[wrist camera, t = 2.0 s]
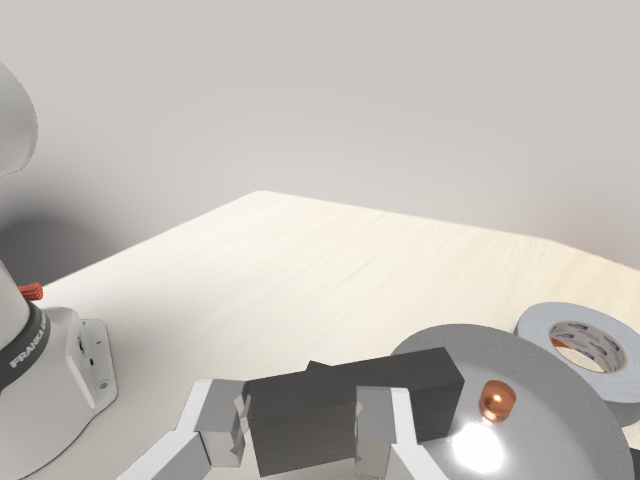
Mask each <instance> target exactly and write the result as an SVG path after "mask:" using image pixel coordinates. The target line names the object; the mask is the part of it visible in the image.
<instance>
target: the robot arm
mask: <svg viewBox="0 0 640 480" xmlns="http://www.w3.org/2000/svg"><path fill="white" fill-rule="evenodd" d="M37 138H38V124H37V117H36V113H35V110H34V107H33V104H32V102H31V100H30V98H29V96H28V94H27V92H26V91H25V89H24V88H23V86H22V85H21V83H20V82H19V81H18V80H17V78H16V77H15V76H14V75H13V73H12V72H11V71H10V70H8V68H7V67H5V65H3V64H2V63H1V62H0V177H3V176H6V175H9V174H12V173H14V172H17V171H20V170H22V169H23V168H25V166H26V165H27V163H28V162H29V161H30V159H31V157H32V155H33V153H34V150H35V147H36V143H37ZM42 297H43V289H42V287H41V285H40V284H39V283H32V284H30V285H27V286H19V287H18V288H17V286H16V284H15V283H14V281H13V279H12V278H11V276H10V274H9V273H8V271H7V269H6V268H5V266H4V265H3V263H2V261H1V259H0V480H18V479H21V478H23V477H25V476H27V475H29V474H31V473H33V472H34V471H36V470H38V469H39V468H41V467H42V466H44V465H46V464H47V463H48V462H50V461H51V460H52V459H54V458H55V457H56V456H58V455H59V454H60V453H61V452H62V451H63V450H65V449H66V448H67V447H68V446H69V445H70V444H71V443H72V442H73V441H74V440H75V439H76V438H77V436H78V435H79V434H80V433H81V431H82V430H83V429H84V428H85V426H86V425H87V424H88V423H89V421H90V420H91V419H92V418H93V417H94V416H95V415H97V414H98V413H99V412H101V411H102V410H103V409H104V408H106V407H107V406H108V405H109V404H110V403H112V402H113V401H114V399H115V398H116V397H117V394H118V391H117V385H116V380H115V374H114V368H113V363H112V357H111V352H110V346H109V341H108V335H107V330H106V326H105V324H104V323H103V321H101V320H96V319H80V317H79V316H78V314H77V313H76V311H74V310H73V309H70V308H66V307H49V308H41V309H39V308H38V307H37V306H36V305H34V304H33V303H32V302H30V301H35V300H41V299H42ZM104 387H105V388H104ZM103 388H104V389H103ZM248 392H249V383H248V381H240V380H224V379H210V378H198V379H197V380H196V382H195V383H194V385H193V387H192V390H191V392H190V395H189V397H188V399H187V402H186V404H185V407H184V409H183V412H182V414H181V416H180V419H179V421H178V424H177V426H176V429H175V431H173V430H170V431H169V432H167V433H166V434H165V435H164V436H163V437H162V438H161V439H160V440H159V441H158V442H156V443H155V444H154V445H153V446H152V447H151V448H150V449H149V450H148V451H146V452H145V453H144V454H143V455H142V456H141V457H140V458H139V459H138V460H136V461H135V462H134V463H133V464H132V465H131V466H130V467H129V468H128V469H127V470H125V471H124V472H123V473H122V474H121V475H120V476H119V477H118V478H117V479H115V480H202V479H203V478H204V477H205V475H206V474H207V473H208V472H209V470H210V469H211V466H212V467H240V464H241V460H242V456H243V452H244V448H245V440H244V434H245V433H246V431H247V430H248V429H249V427H250V422H251V416H252V398H251V396H250V395H249V394H248ZM355 436H356V440H355V475H360V476H371V477H382V478H385V480H449V479H448V478H447V477H446V476H445V474H444V473H443V472H442V470H441V469H440V468H439V466H438V465H437V464H436V462H435V461H434V460H433V458H432V457H431V456H430V454H429V453H428V452H427V451H426V449H425V448H424V447H423V445H417V440H416V433H415V427H414V421H413V414H412V408H411V402H410V395H409V391H408V389H407V388H389V387H375V386H356V402H355Z"/></svg>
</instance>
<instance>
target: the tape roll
mask: <svg viewBox="0 0 640 480" xmlns="http://www.w3.org/2000/svg"><path fill="white" fill-rule="evenodd" d="M513 334H514V335H516V336H519V337H521V338H523V339H526V340H528V341H530V342H532V343H534V344H536V345H538V346H540V347H542V348H543V349H545V350H546V351H548V352H550V353H551V354H553V355H555V356H556V357H557V358H559V359H560V360H562V361H563V362H564V363H566V364H567V365H568V366H570V367H571V368H572V369H573V370H574V371H576V372H577V373H578V374H579V375H580V376H581V377H582V378H583V379H584V380H585V381H586V382H587V383H588V384H589V385H590V386H591V387H592V388H593V389H594V390H595V391H596V392H597V393H598V395H599V396H600V397H601V398H602V399H603V401H604V402H605V403H606V405H607V406H608V408H609V409H610V410H611V412H612V413H613V415H614V417H615V418H616V420H617V422H618V423H619V425H620V427H625V426H629V425H631V424H633V423H635V422H637V421H638V420H640V335H639V334H638V333H636V332H635V331H634V330H632V329H631V328H630V327H628V326H627V325H625V324H623V323H622V322H620V321H618V320H616V319H614V318H612V317H610V316H608V315H606V314H604V313H601V312H599V311H596V310H593V309H590V308H587V307H583V306H579V305H575V304H570V303H561V302H547V303H540V304H536V305H534V306H531V307H529V308H528V309H527V310H526V311H525V312H524V313H523V314H522V316H521V317H520V319H519V321H518V323H517V326H516V328H515V330H514V332H513ZM555 346H559V347H566V348H570V349H573V350H576V351H578V352H580V353H582V354H584V355H586V356H588V357H589V358H591V359H592V360H593V361H594V362H596V363H597V364H598V365H599V366H600V367H601V368H602V370H603V371H604V372H596V371H592V370H589V369H585V368H583V367H581V366H579V365H577V364H575V363H573V362H571V361H570V360H568V359H567V358H566V357H564V356H563V355H562V354H561V353H560V352H559V351H558V350H557V349H556V348H555Z"/></svg>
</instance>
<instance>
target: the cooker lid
mask: <svg viewBox="0 0 640 480" xmlns="http://www.w3.org/2000/svg"><path fill="white" fill-rule="evenodd" d="M248 383H249V392H248V394H249V395H250V396H251V398H252V416H251V422H250V431H251V436H252V441H253V445H254V450H255V455H256V459H257V464H258V469H259V473H260V477H265V476H269V475H274V474H279V473H283V472H288V471H292V470H297V469H302V468H306V467H311V466H315V465H320V464H325V463H329V462H334V461H339V460H343V459H348V458H352V457H355V440H356V436H355V402H356V386H375V387H389V388H407V389H408V391H409V395H410V402H411V408H412V414H413V421H414V427H415V433H416V440H417V445H423V447H424V448H425V449H426V451H427V452H428V453H429V454H430V456H431V457H432V458H433V460H434V461H435V462H436V464H437V465H438V466H439V468H440V469H441V470H442V472H443V473H444V474H445V476H446V477H447V478H448V479H449V480H634V477H635V475H634V467H633V460H632V456H631V453H630V449H629V446H628V443H627V440H626V438H625V436H624V433H623V431H622V429H621V427H620V425H619V423H618V422H617V420H616V418H615V417H614V415H613V413H612V412H611V410H610V409H609V408H608V406H607V405H606V403H605V402H604V401H603V399H602V398H601V397H600V396H599V395H598V393H597V392H596V391H595V390H594V389H593V388H592V387H591V386H590V385H589V384H588V383H587V382H586V381H585V380H584V379H583V378H582V377H581V376H580V375H579V374H578V373H577V372H576V371H574V370H573V369H572V368H571V367H570V366H568V365H567V364H566V363H564V362H563V361H562V360H560V359H559V358H557V357H556V356H555V355H553V354H551V353H550V352H548V351H546V350H545V349H543V348H542V347H540V346H538V345H536V344H534V343H532V342H530V341H528V340H526V339H523V338H521V337H519V336H516V335H514V334H511V333H508V332H505V331H502V330H498V329H494V328H491V327H486V326H480V325H472V324H447V325H439V326H435V327H430V328H427V329H425V330H422V331H419V332H417V333H415V334H413V335H411V336H410V337H408V338H407V339H406V340H404V341H403V342H402V343H401V344H400V345H399V346H398V347H397V348H396V349H395V350H394V351H393V353H392V354H391V355H390V356H387V357H381V358H375V359H369V360H364V361H358V362H352V363H347V364H341V365H335V366H330V367H324V368H318V369H312V370H307V371H301V372H295V373H290V374H284V375H278V376H272V377H267V378H261V379H255V380H250V381H248Z"/></svg>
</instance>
